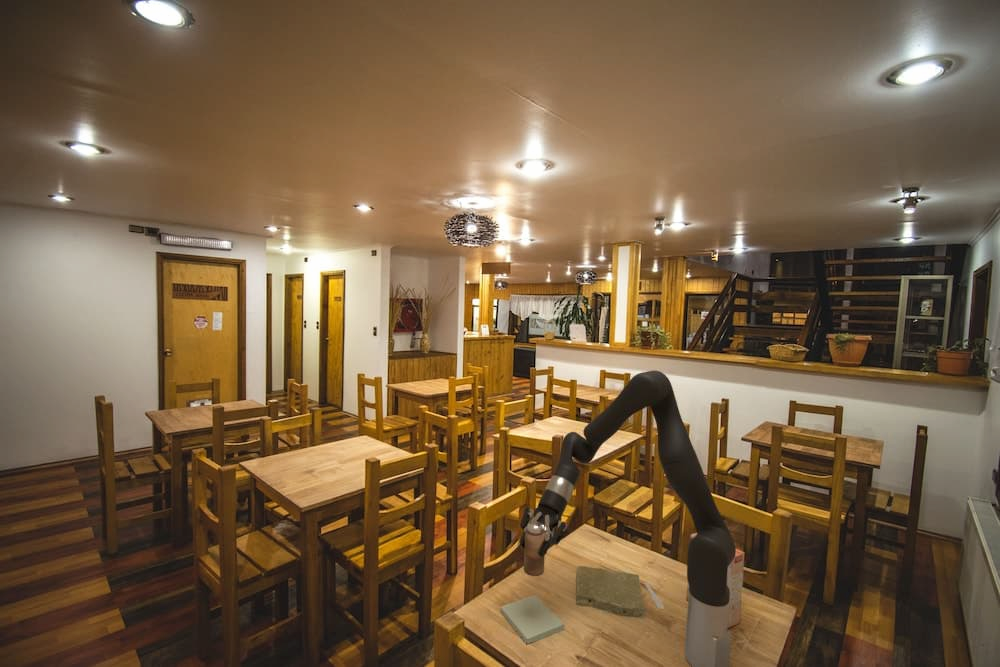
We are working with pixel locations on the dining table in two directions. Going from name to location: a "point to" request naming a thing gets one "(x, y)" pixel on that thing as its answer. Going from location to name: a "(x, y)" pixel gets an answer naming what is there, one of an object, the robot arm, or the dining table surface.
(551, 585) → the dining table surface
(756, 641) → the dining table surface
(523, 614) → the serving board
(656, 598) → the butter knife
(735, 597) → the cracker box
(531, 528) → the pepper mill
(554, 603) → the dining table surface
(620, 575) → the decorative tile
